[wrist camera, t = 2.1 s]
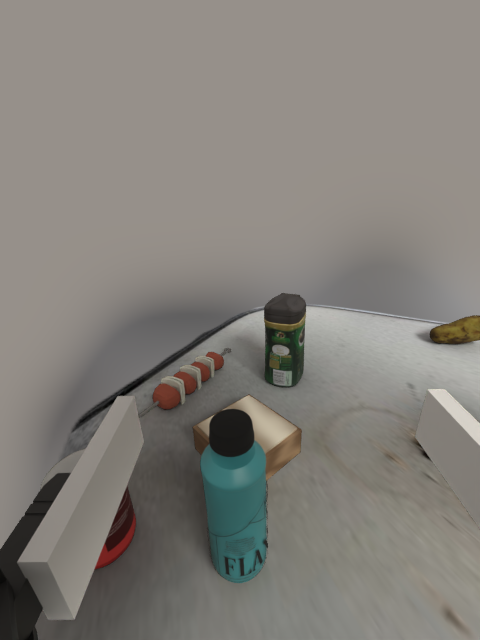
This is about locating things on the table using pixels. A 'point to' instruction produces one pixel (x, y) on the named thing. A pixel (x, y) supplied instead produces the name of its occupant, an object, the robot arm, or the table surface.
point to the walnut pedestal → (261, 433)
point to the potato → (457, 331)
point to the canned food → (121, 524)
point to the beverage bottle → (235, 496)
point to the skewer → (185, 381)
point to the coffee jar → (284, 339)
